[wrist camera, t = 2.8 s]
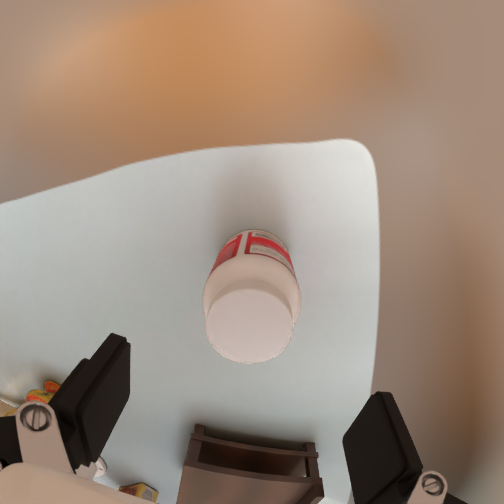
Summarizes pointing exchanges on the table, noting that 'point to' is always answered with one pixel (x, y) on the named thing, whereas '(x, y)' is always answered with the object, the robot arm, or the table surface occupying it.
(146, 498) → the candy box
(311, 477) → the plate
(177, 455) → the table surface
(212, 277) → the pill bottle
